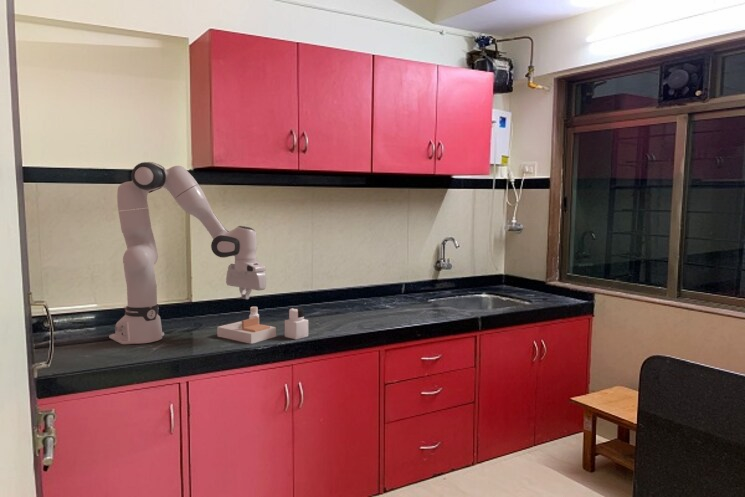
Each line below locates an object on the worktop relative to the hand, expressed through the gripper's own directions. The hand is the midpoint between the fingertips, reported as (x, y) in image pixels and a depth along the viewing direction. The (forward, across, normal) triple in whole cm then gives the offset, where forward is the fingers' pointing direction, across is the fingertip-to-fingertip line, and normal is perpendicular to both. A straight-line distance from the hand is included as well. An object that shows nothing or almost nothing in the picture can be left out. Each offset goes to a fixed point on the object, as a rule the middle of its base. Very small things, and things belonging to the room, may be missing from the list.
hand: (245, 298), depth 230 cm
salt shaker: (+16, -7, +13) cm, 22 cm away
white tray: (+16, +1, +1) cm, 16 cm away
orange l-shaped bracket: (+12, +6, +1) cm, 13 cm away
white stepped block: (+16, +18, +13) cm, 27 cm away
